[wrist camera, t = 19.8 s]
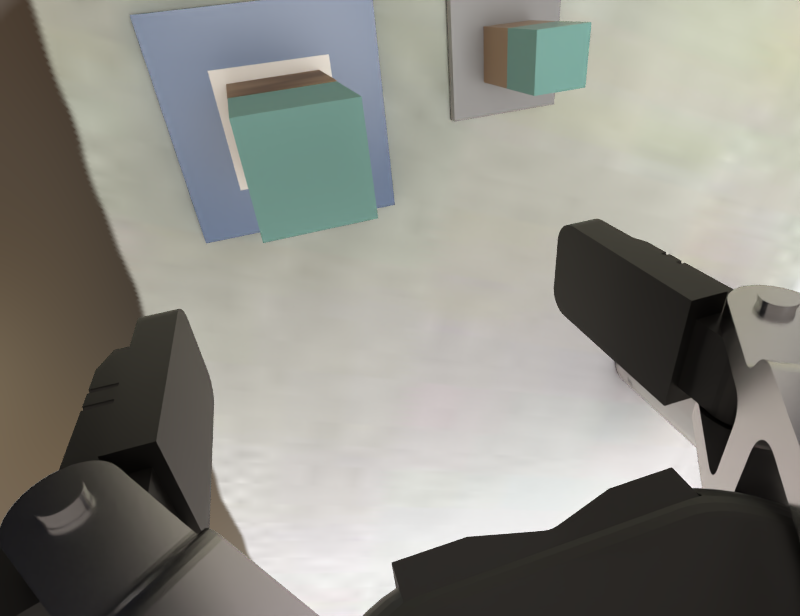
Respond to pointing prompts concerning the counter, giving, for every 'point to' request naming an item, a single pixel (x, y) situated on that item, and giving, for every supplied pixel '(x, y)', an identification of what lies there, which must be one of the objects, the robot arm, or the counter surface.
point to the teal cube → (304, 158)
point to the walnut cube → (277, 83)
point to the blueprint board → (248, 60)
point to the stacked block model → (512, 55)
